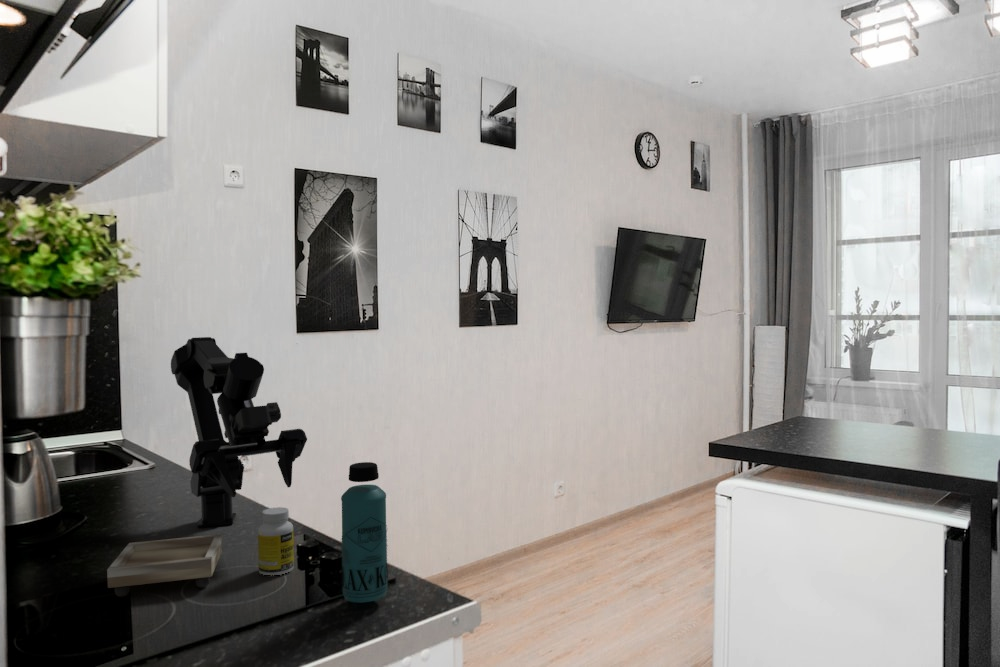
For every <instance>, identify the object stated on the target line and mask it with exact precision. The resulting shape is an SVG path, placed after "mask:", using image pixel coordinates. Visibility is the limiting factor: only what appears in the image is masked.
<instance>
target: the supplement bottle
mask: <svg viewBox="0 0 1000 667" xmlns="http://www.w3.org/2000/svg"><path fill="white" fill-rule="evenodd" d="M289 514H290V513H289V509H288V508H287V507H282V506H280V507H271V508H266V509H264V510H263V511H262V515H261V516H262V522H263V523H262V524H261V525H260V526H258V529H257V547H258V549H257V551H258V552H257V553H258V557H257V558H258V560H257V561H258V573H259V575H261V574H263V575H262V576H264V575H271V576H270V577H275V576H274V575H280V576H283V575H282V574H284V575H286V574H285V573H287V574H289V573H291V572H292V570H294V566H295V554H294V553H295V552H294V550H295V549H294V547H295V546H294V525H293V523H292V522H290V521H289V517H290V515H289ZM288 572H289V573H288ZM272 575H273V576H272Z"/></svg>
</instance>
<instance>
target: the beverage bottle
mask: <svg viewBox="0 0 1000 667" xmlns="http://www.w3.org/2000/svg"><path fill="white" fill-rule="evenodd" d="M378 468H379V467H378V464H377V463H375V462H371V461H369V462H368V461H364V462H363V461H362V462H356V463H353V464H350V465H349V468H348V481H350V482H352V483H353V482H354V483H365V482H366V483H368V482H373V481H376V480H378V479H379V469H378ZM340 500H341V547H340V549H341V550H340V552H341V563H340V566H341V567H340V568H341V570H340V571H341V572H340V573H341V576H340V577H341V581H342V591H341V593H342V595H343V597H344V599H345V600H346V601H348V602H352V603H369V602H373V601H377V600H379V599H382V598H383V597H384V596H385V595H386V594H387V591H388V588H389V568H388V548H389V547H388V546H389V545H388V543H387V542H388V539H387V538H388V535H387V532H388V525H387V504H386V503H387V502H386V501H387V493H386V492H385V491H384V489H382V488H381V487H380V486H379V485H376V484H358V485H353V486H350V487H348V489H346V490H345V492H343V494H342V495H341V497H340ZM387 547H388V548H387Z"/></svg>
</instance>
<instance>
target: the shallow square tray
mask: <svg viewBox="0 0 1000 667" xmlns="http://www.w3.org/2000/svg"><path fill="white" fill-rule="evenodd" d="M222 551H223V534H222V533H220V534H219V533H217V534H210V535H209V534H208V535H201V536H200V535H199V536H188V537H187V536H186V537H177V538H176V537H175V538H166V539H157V540H146V541H145V540H144V541H135V542H129V543H128V544H127V545H126V546H125V547H124V549H123V550H122V551H121V552H120V554H118V556H117V557H115V559H114V560H113V561H112V563H111V564H110V566H108V568H107V569H106V572H107V573H106V574H107V575H106V576H107V577H106V578H107V588H108V589H111V588H114V594H115V595H116V596H117V597H118V598H119V597H120V598H121V597H126V596H128V594H129V593H130V591H131V586H138V585H139V586H140V585H145V584H147V585H148V584H157V583H166V582H174V581H183V580H184V581H186V580H194V579H195V585H196V587H198V588H205V587H207V586H208V585H209V584H210V581H211V578H210V577H213V574H214V572H215V569H216V568H217V564H218V562H219V559H220V557H221V554H222V553H223V552H222Z"/></svg>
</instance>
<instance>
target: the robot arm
mask: <svg viewBox="0 0 1000 667" xmlns="http://www.w3.org/2000/svg"><path fill="white" fill-rule="evenodd" d="M170 371H171V374H172V375H174V377H175V380H176V385H177V386H179V387H180V388H181V389H182V390H184V391H185V392H186V393H187V394H188V400H189V404H190V409H191V413H192V417H193V421H194V425H195V430H196V431H195V432H196V435H197V441H195V442H194V443H193V445H192V449H191V453H190V456H189V468H190V471H191V473H192V474H191V479H190V483H189V485H190V490H191V493H192V494H193V495H194V496H195V497H197V498H199V497H200V505H201V506H200V509H201V518H200V520H199V521H198V523H197V528H207V527H217V526H228V525H233V524H234V523H235V521H236V517H237V513H236V512H233V498H235V497H236V495H237V491H240V490H242V487H243V480H244V477H243V476H244V471H245V470H244V469H245V466H244V465H243V462H242V460H241V459H240V458H239V457H249V456H255V455H263V454H270V453H275V454H276V456H277V457H276V458H278V461H277V465H278V467H279V470H280V473H281V475H282V479H283V481H284V484H285V485H286V487H287V488H291V486H292V483H293V482H292V480H293V463H294V462H295V461H296V459H297V458H300V457H301V455H302V453H303V450H304V448H305V445H306V444H307V442H308V437H307V435H306V431H304V430H303V429H302V428H294V429H286V430H281V431H280V433H279V436H278V439H272V440H266V438H265V437H268V435H269V433H270V430H269V428H268V427H270V426H272V425H273V423H278V421H280V419H281V418H282V414H281V409H280V406H279V404H278V402H277V401H275V402H267V403H266V405H259V406H258V405H257V406H255V405H254V402H253V400H252V399H254V398H256V397H257V394H258V391H259V388H260V385H261V381H262V379H263V375H264V371H265V368H264V364H263V363H261V362H260V361H258V359H255V358H253V357H250V356H249V355H248V352H235V355H234V358H233V357H232V358H231V357H228V355H227V354H226V353H225V352H224V351H223V350H222V349H221V348H220V347H219V346H218V345H217V341H216V339H215V338H214V337H210V336H204V337H203V336H202V337H192V338H188V339H187V341H186V343H185V344H183V345H182V346H180V347H179V348H177V349H176V350H174V352H173V354H172V355H171V360H170ZM215 394H219V396H218V397H217V399H216V400H217V401H216V402H217V406H218V411H217V407H216V403H215V398H214V395H215ZM218 414H219V415H220V416H221V419H222V423H223V427H224V430H225V431H224V433H223V429H222V426H221V423H220V419H219V415H218ZM223 434H224V435H223ZM224 438H225V439H227V440H225V439H224Z"/></svg>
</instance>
